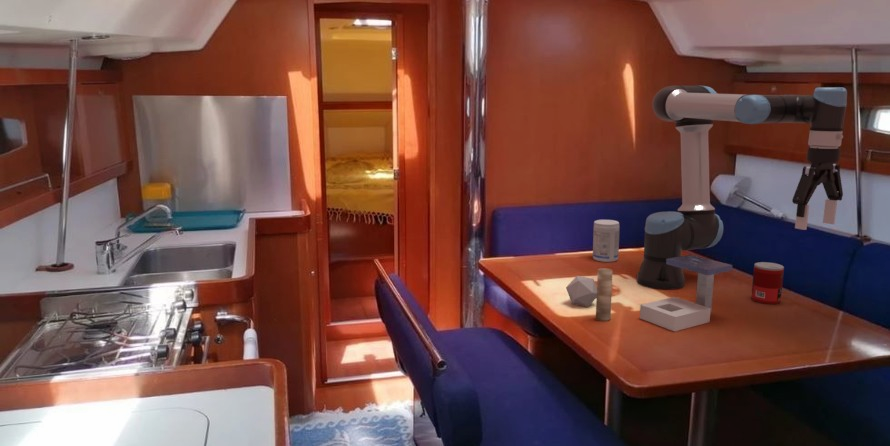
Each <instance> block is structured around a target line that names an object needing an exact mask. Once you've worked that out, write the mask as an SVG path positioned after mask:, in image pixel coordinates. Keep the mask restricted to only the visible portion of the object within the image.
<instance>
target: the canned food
mask: <svg viewBox="0 0 890 446" xmlns="http://www.w3.org/2000/svg"><path fill="white" fill-rule="evenodd" d="M784 272H785V266H783V265H782V264H781V263H780V264H779V263H776V262H766V261H761V262H755V263H754V265H753V276H752V287H751V299H752V300H753V301H754V302H755V303H761V304H764V305H765V304H766V305H776V304H779V303H780V301H781V299H782V291H783V283H784V274H785V273H784Z"/></svg>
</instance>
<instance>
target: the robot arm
mask: <svg viewBox="0 0 890 446" xmlns="http://www.w3.org/2000/svg"><path fill="white" fill-rule="evenodd" d="M847 97H848V91H847V89H846V88H845V87H842V86H841V87H840V86H838V87H837V86H835V87H831V86H830V87H824V86H823V87H816V88H815V89H814V91H813V94H810V95H809V94H807V95H806V94H743V93H742V94H740V93H739V94H738V93H735V94H734V93H718V92H717V91H715V89H714V88H712V87H710V86H705V85H700V84H697V85H669V86H665V87H663V88H661V89H660V90H659V91H658V92H656V94H655V95H654V96H653V99H652V110H653V112H654V114H655V116H656V117H657V118H659V119H660V120H661V121H663V122H668V123H669V122H671V123H672V122H673V123H675V124H674V125H675V129H676V130H677V131H678V132H679V134H680V158H681V159H680V163H681V165H680V166H681V169H680V170H681V198H682V199H681V202H682V204H681V205H680V207H678V208H677V211H670V210H669V211H658V212H654V213H651V214H649V215H648V216H647V217H646V220H645V226H644V244H643V245H644V246H643V260H642V262H641V265H640V267H639V271H638V272H637V275H636V282H637V284H639V285H641V286H644V287H646V288H651V289H657V290H678V289H682V288H684V287H685V285H686V278H685V275H684V269H682V268H679V267H675V266H671V265H668V264H666V259H669V258H674V257H680V256H682V252H683V251H691V250H705V249H707V248H711V247H714V246H715V245H717V244H718V243H719V242H720V241H721V239H722V237H723V234H724V223H723V220H721V217H720V215H718V214H717V213H716V208H715V206H713V205H712V204H711V201H710V200H711V199H710V198H711V197H710V189H711V188H710V154H709V153H710V151H709V149H710V148H709V131H710V130H711V129H712V127H713V126H714V121H724V122H725V121H726V122H738V123H741V124H748V125H758V124H789V123H791V124H809V135H808V141H807V144H808V146H809V147H808V148H807V150H806V151H807V153H806V162H808V163H809V162H810V166H803V167H802V171H801V176H800V178H799V181H798V184H797V186H796V189H795V192H794V194H793V197H792V199H791V200H792V204H794V205H797V207H796V215H795V224H794V229H797V230H803V231H806V230H807V229H808V228H807V227H808V219H809V210H810V204H809V202H810V200H811V199H812V197H813V194H814V192H815V190H816V189H817V188H818V186H820V185H821V184H822V186H823V189H824V192H825V194H826V197H827V198H826V199H825V201H824V208H823V216H822V217H823V218H822V223H823V224H829V225H835V223H836V222H835V221H836V216H837V215H836V213H837V206H838V201H842V200H843V196H844V193H843V185H842V178H841V164H838V163H839V162H840V159H841V158H840V157H841V152H842V151H841V149H840V148H839V147H841V146H842V139H843V138H844V135H843V131H844V121H845V117H846V116H845V115H846V110H847V106H848V101H847V99H848V98H847ZM808 204H809V205H808Z"/></svg>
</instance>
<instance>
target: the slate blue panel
mask: <svg viewBox="0 0 890 446" xmlns="http://www.w3.org/2000/svg"><path fill="white" fill-rule="evenodd" d="M666 264H668V265H671V266H675V267H679V268H682V270H687V271H690V272H693V273H694V272H695V273H697V281H696V282H697V283H696V296H695V297H696V298H695V303H696V304H699V305H702V306H705V307H708V308H711V309H710V315H711V314H712V307H713V294H714V293H713V291H714V284H715V283H714V282H715V281H714V280H715V275H718V274H722V273H726V272H731V271H733V265H732V264H730V263H725V262H722V261H718V260H714V259H713V260H712V259H709V258H705V257H702V256H697V255H693V254H686V255H681V256H680V257H674V258H669V259H666Z"/></svg>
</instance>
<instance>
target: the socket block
mask: <svg viewBox="0 0 890 446" xmlns="http://www.w3.org/2000/svg"><path fill="white" fill-rule="evenodd" d="M710 309H711V310H712V308H708V307H705V306H702V305H699V304H696V302H692V301H690V300H686V299H683V298H681V297H677V296H672V297H669V298H663V299H659V300H654V301H651V302H647V303H645V302H644V303H643V304H640V306H639V319H640V320H644V321H646V322H649V323H651V324H654V325H655V326H659V327H662V328H664V329H666V330H669V331H672V332H677V331H681V330H685V329H689V328H693V327H697V326H702V325H704V324H709V323H710V322H711V321H710V318H711V314H710Z"/></svg>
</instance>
